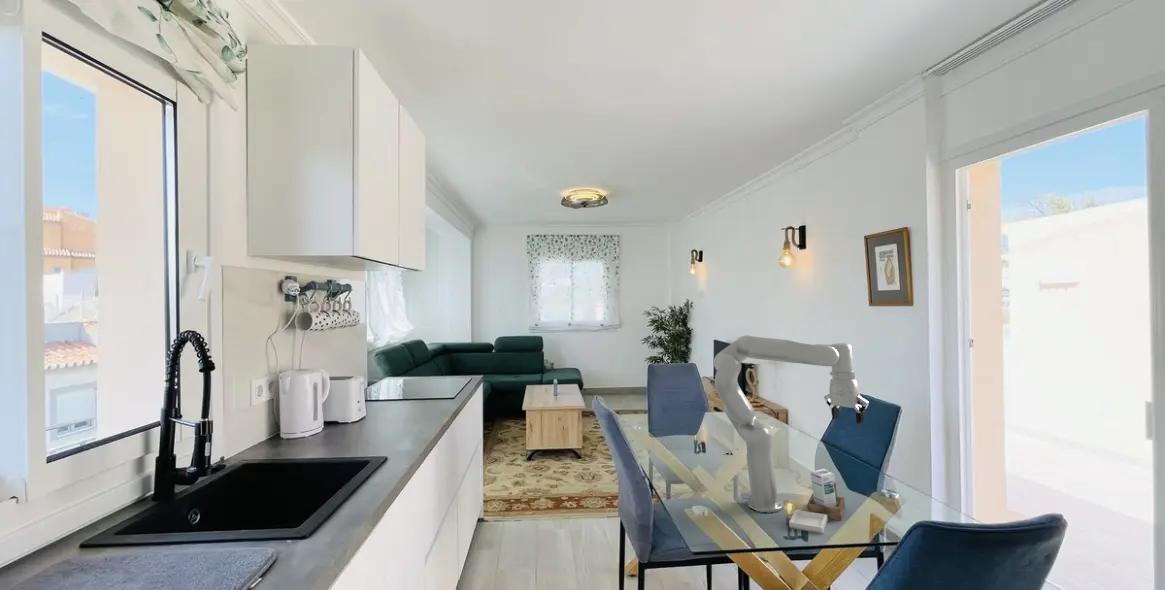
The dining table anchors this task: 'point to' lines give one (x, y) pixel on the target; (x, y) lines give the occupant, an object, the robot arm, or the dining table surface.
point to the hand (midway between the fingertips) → (847, 420)
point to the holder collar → (828, 508)
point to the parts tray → (808, 521)
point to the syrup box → (824, 488)
